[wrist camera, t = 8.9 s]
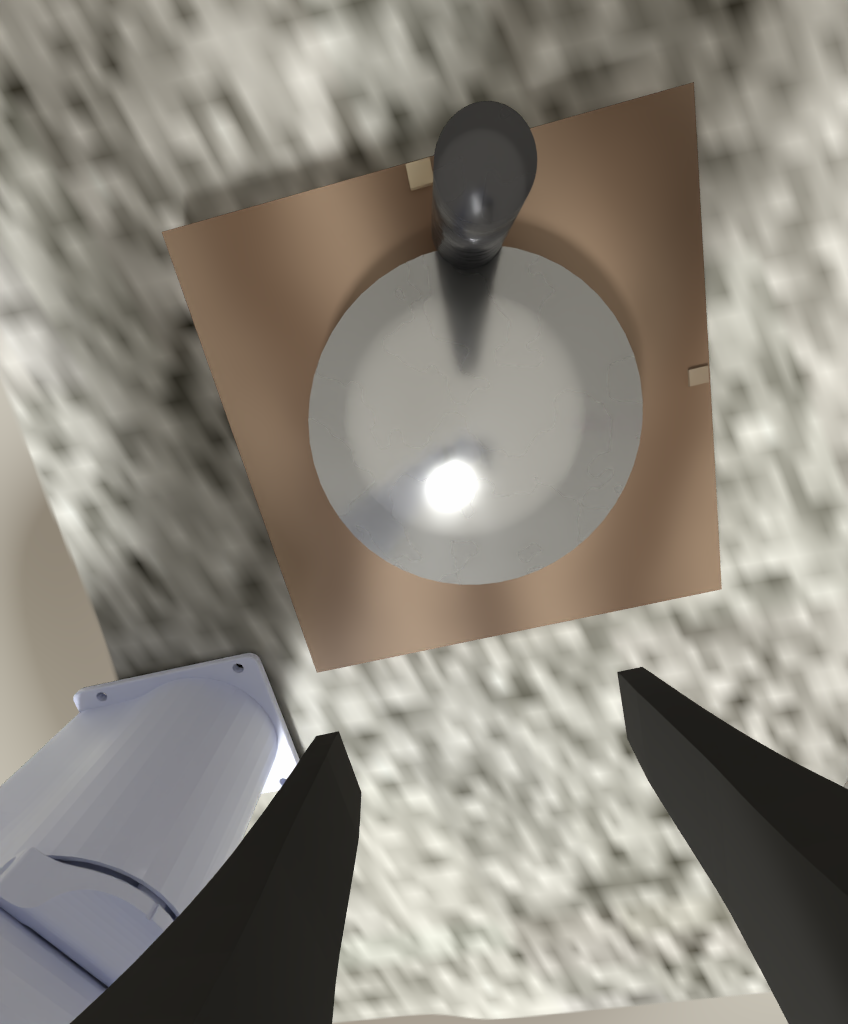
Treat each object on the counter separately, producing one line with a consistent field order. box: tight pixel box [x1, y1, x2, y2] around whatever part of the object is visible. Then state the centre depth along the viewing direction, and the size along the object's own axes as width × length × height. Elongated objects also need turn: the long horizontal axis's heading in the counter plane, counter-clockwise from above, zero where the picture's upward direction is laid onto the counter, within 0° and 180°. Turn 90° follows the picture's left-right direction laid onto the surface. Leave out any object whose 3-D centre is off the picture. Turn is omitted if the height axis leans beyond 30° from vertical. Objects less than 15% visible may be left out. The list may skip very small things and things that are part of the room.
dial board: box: [162, 82, 722, 672], centre depth 17 cm, size 18×18×2 cm
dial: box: [308, 101, 643, 585], centre depth 14 cm, size 14×12×5 cm
